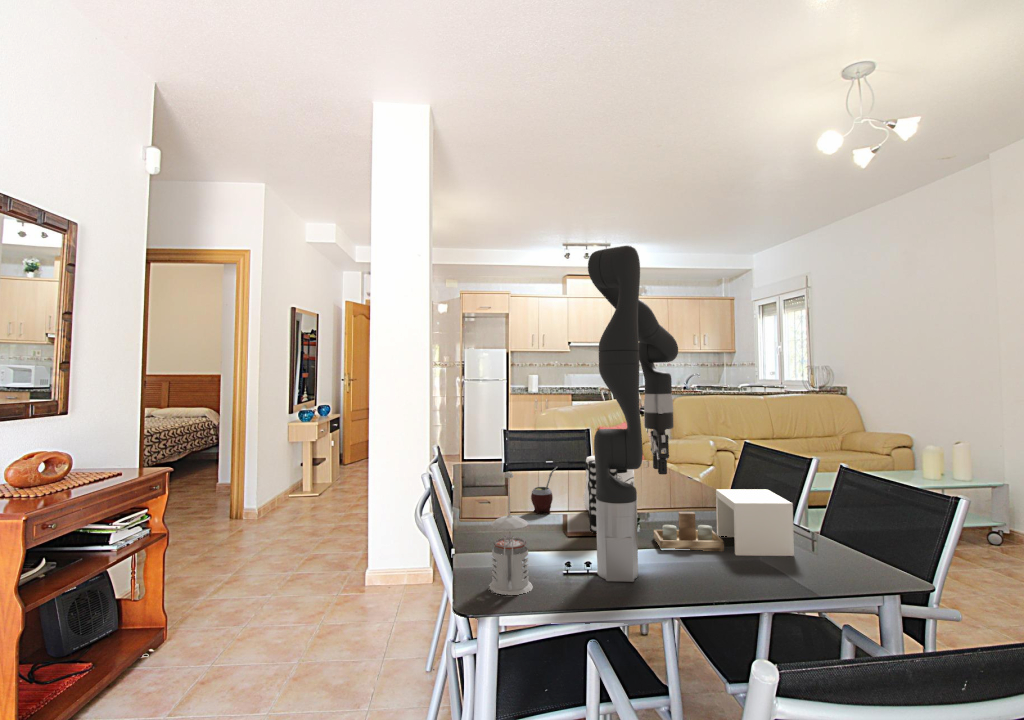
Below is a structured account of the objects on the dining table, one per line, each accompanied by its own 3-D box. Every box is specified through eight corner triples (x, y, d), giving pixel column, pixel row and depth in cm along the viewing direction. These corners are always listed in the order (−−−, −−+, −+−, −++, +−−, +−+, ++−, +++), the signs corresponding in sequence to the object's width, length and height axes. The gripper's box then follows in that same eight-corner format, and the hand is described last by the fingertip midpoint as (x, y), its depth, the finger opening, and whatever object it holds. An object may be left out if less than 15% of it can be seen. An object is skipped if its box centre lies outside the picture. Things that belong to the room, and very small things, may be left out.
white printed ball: (642, 520, 170) (641, 462, 170) (586, 520, 170) (585, 462, 171) (632, 506, 187) (631, 454, 187) (581, 506, 188) (580, 454, 188)
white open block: (794, 555, 136) (792, 503, 136) (736, 555, 137) (734, 503, 137) (768, 536, 152) (767, 489, 152) (717, 536, 153) (715, 489, 153)
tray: (660, 550, 141) (660, 517, 141) (653, 538, 151) (652, 507, 151) (724, 551, 140) (723, 517, 140) (712, 539, 150) (712, 508, 150)
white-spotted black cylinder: (617, 527, 163) (615, 459, 163) (619, 535, 154) (618, 464, 155) (588, 526, 164) (587, 459, 164) (590, 535, 155) (588, 464, 156)
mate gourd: (527, 513, 180) (526, 467, 180) (540, 508, 186) (539, 464, 187) (546, 516, 176) (545, 469, 176) (559, 511, 182) (558, 466, 182)
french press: (533, 578, 123) (531, 467, 124) (533, 599, 112) (531, 477, 112) (489, 578, 124) (488, 467, 124) (485, 599, 112) (483, 477, 113)
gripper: (640, 409, 154) (642, 467, 153) (648, 412, 140) (649, 476, 139) (668, 409, 153) (669, 467, 152) (678, 412, 139) (679, 476, 138)
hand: (659, 471), depth 146 cm, fingers open, 8 cm apart
